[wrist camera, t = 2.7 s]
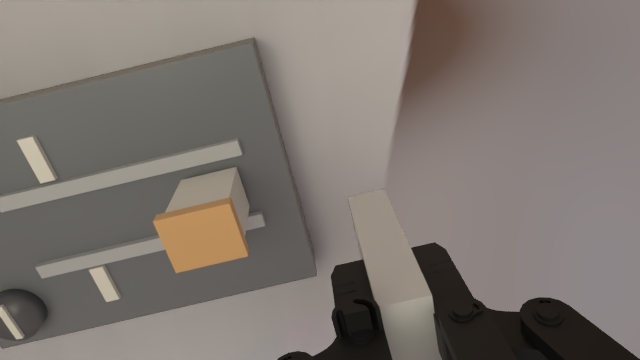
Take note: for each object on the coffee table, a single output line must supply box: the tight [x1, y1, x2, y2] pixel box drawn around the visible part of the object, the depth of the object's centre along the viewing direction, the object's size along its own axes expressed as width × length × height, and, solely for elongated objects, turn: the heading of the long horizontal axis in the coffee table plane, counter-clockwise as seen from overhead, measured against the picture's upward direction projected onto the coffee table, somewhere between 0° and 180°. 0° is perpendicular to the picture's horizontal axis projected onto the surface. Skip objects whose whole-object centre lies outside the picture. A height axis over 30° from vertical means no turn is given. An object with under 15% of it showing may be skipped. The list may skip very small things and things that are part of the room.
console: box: [0, 38, 317, 349], centre depth 24 cm, size 20×14×3 cm
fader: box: [153, 167, 249, 273], centre depth 22 cm, size 3×3×5 cm
